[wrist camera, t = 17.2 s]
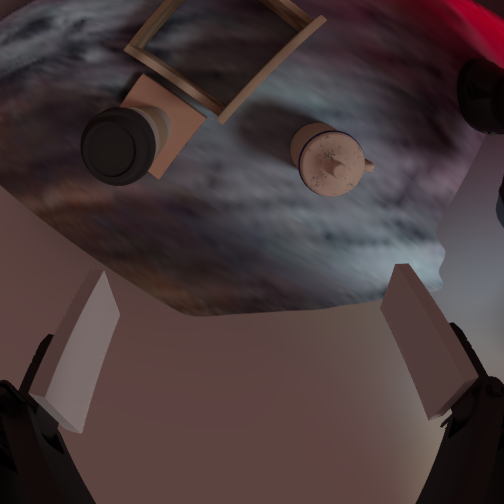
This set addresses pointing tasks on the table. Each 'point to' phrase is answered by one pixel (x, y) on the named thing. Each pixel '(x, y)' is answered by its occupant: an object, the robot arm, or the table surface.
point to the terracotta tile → (179, 112)
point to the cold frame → (304, 25)
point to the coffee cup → (124, 143)
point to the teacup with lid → (328, 159)
